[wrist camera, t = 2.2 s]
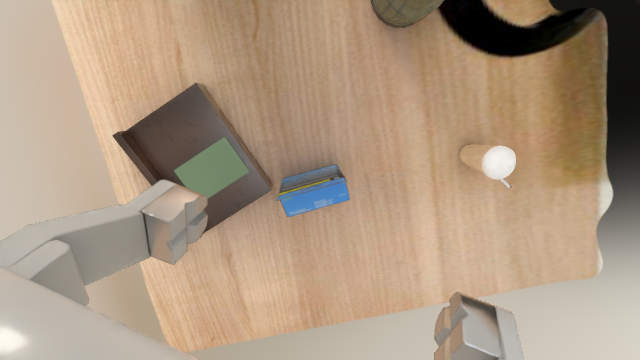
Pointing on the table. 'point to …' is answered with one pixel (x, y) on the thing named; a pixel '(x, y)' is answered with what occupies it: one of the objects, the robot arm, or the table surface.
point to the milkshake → (489, 160)
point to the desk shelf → (196, 153)
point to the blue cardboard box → (313, 190)
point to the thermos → (403, 11)
